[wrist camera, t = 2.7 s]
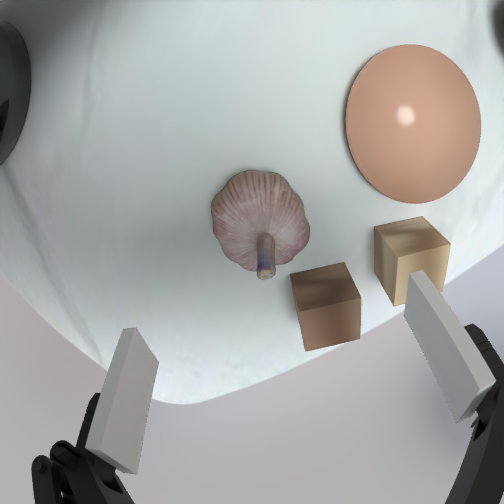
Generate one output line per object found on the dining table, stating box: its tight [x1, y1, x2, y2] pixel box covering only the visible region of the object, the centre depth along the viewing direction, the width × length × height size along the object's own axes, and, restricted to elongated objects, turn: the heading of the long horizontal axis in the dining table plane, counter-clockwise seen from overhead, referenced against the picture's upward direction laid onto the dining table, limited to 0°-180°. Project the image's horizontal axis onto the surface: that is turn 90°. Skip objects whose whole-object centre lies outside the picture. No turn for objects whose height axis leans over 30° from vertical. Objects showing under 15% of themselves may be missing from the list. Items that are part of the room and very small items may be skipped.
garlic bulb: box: [211, 170, 310, 280], centre depth 20 cm, size 8×7×8 cm
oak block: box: [374, 216, 451, 306], centre depth 24 cm, size 5×5×5 cm
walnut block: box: [290, 262, 361, 352], centre depth 26 cm, size 5×5×5 cm
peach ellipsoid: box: [346, 45, 481, 204], centre depth 19 cm, size 13×13×1 cm
